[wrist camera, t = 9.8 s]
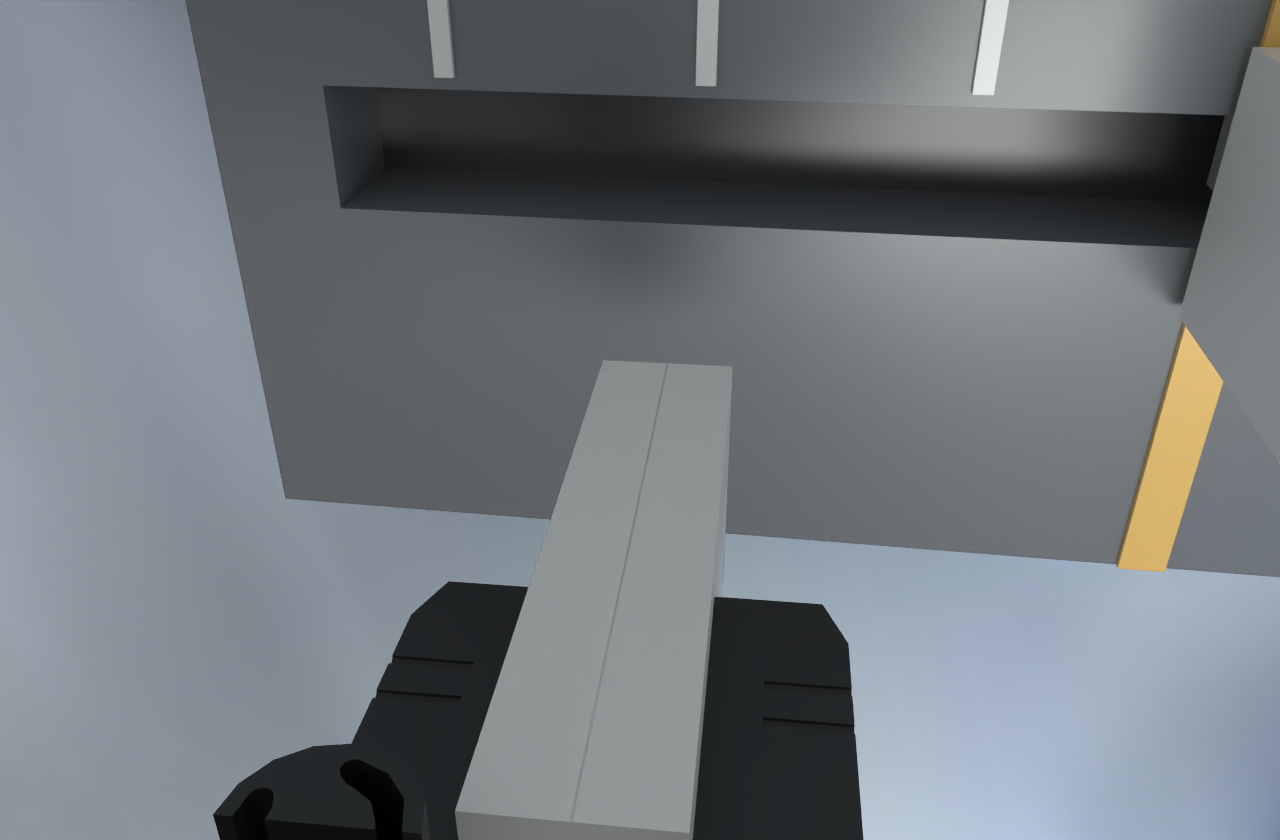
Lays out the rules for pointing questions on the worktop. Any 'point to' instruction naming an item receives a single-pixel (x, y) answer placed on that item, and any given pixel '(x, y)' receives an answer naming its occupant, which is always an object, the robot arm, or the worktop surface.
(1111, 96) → the console
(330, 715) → the worktop surface
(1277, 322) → the fader
